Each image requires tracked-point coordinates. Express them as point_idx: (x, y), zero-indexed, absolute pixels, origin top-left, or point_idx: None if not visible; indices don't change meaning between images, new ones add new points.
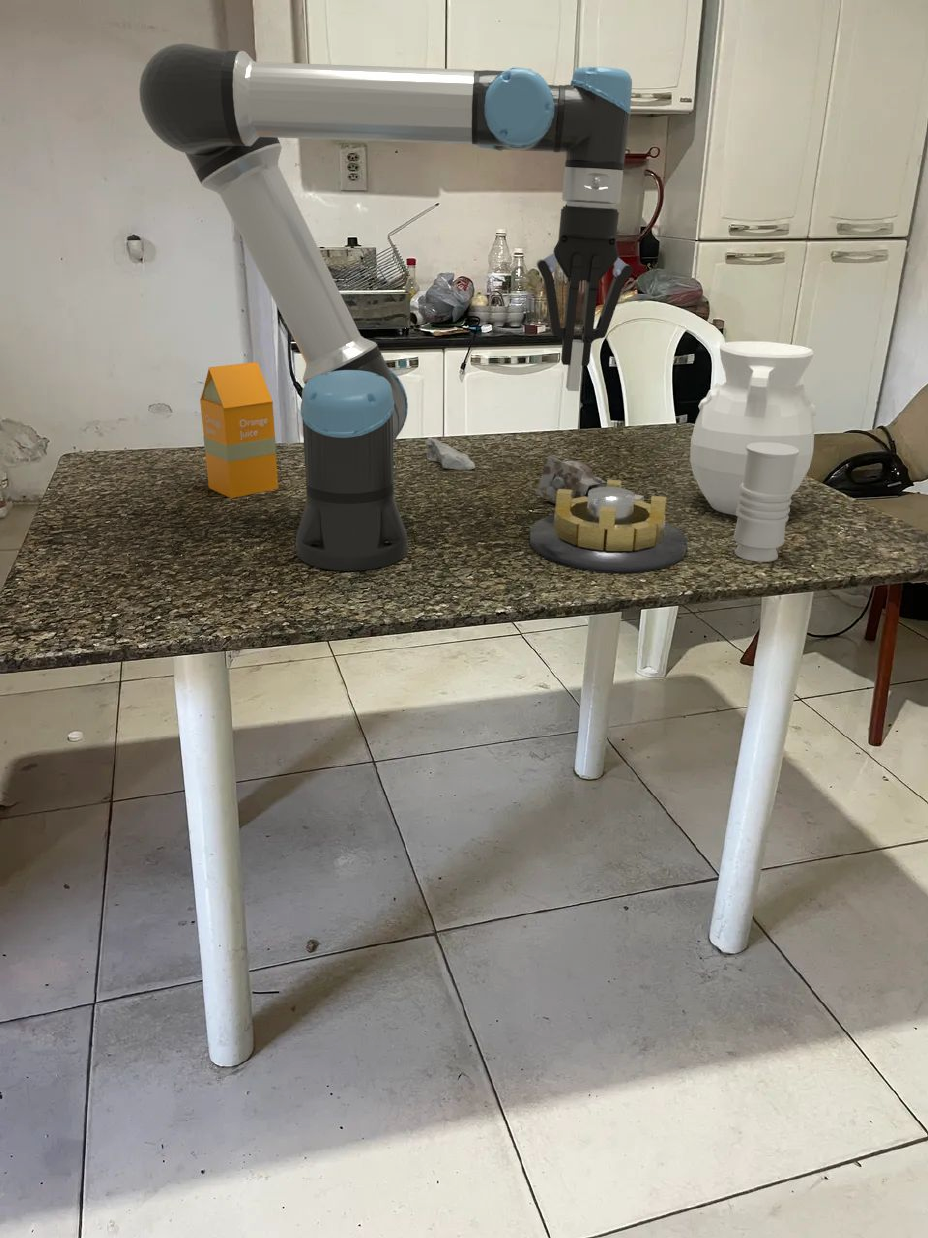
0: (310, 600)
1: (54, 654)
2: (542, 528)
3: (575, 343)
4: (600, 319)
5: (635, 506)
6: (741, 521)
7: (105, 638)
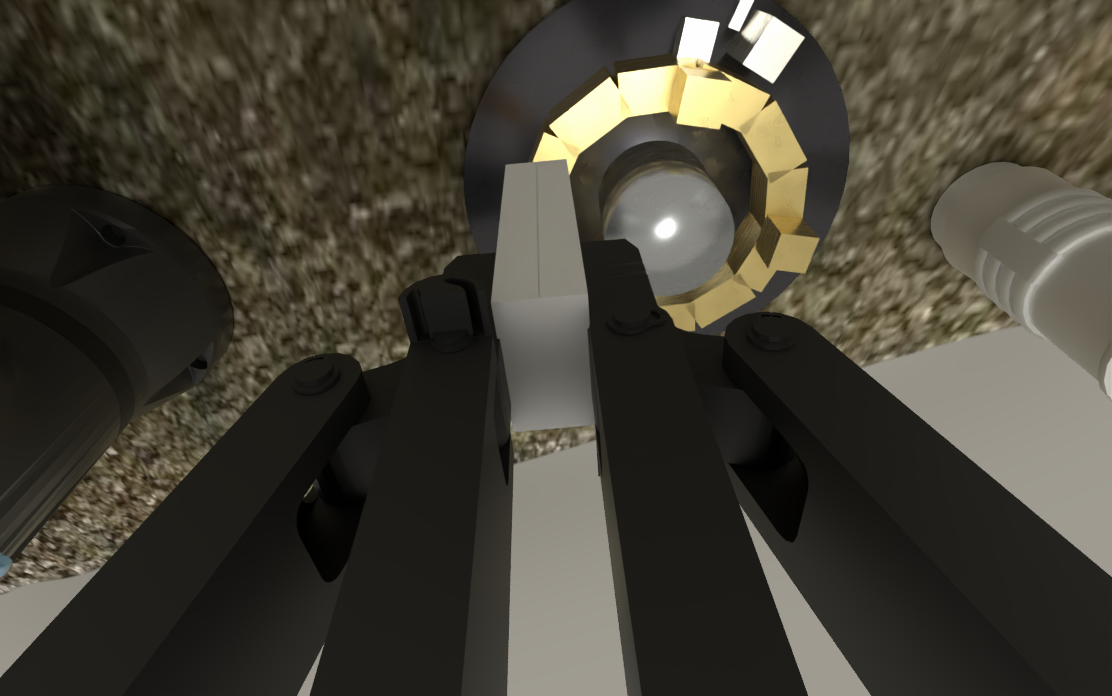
0: (180, 468)
1: (8, 588)
2: (493, 172)
3: (533, 424)
4: (802, 448)
5: (747, 143)
6: (973, 263)
7: (23, 561)
